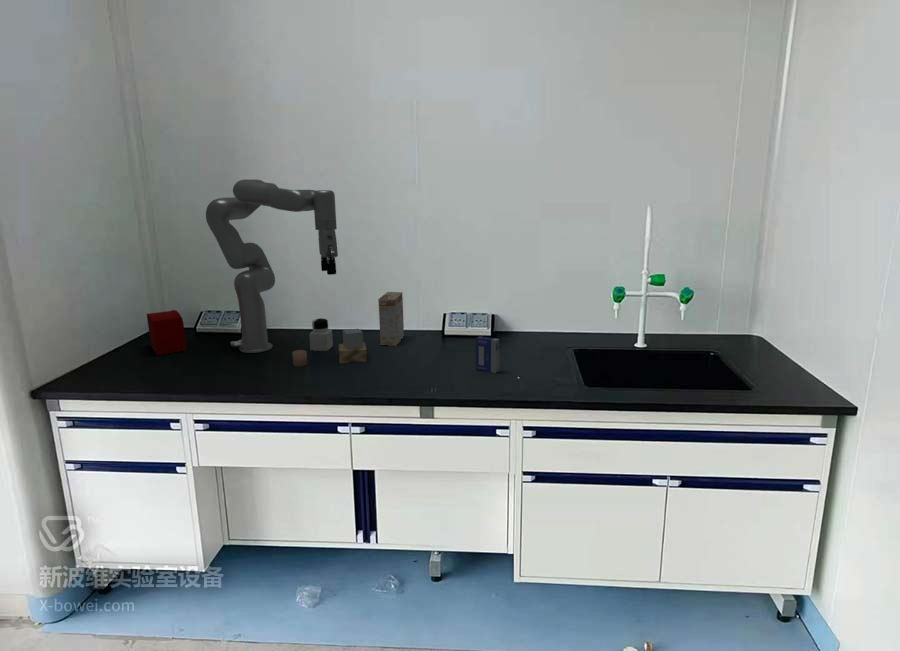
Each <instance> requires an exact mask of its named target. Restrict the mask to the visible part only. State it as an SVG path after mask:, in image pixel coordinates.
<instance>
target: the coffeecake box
mask: <svg viewBox="0 0 900 651" xmlns="http://www.w3.org/2000/svg"><path fill="white" fill-rule="evenodd" d="M377 300H378V319H379V339H380V340H379V341H380V342H379V343H380V345H388V346H387V347H397V346H398V345H399V344H400V342H401V341H402V340H403V338H404V337H405V330H404V327H405V326H404V324H405V323H404V302H403V300H404V298H403V292H402V291H401V292H399V291H387V292H385V293H384V294H383V295H382V296H380V297H379V298H378V299H377ZM403 336H404V337H403ZM401 339H402V340H401ZM397 344H398V345H397Z"/></svg>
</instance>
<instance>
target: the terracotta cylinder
mask: <svg viewBox="0 0 900 651" xmlns="http://www.w3.org/2000/svg"><path fill="white" fill-rule="evenodd" d="M307 353H308V352H307V350H305V349H297V350H294V351H292V352H291V354H292V364H293V365H294V366H299V367H298V368H301V367H300V366H304V367H306V366H305V365H307V366H308V357H307V356H308V354H307ZM294 366H293V367H294Z"/></svg>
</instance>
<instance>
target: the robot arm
mask: <svg viewBox="0 0 900 651" xmlns="http://www.w3.org/2000/svg"><path fill="white" fill-rule="evenodd" d="M232 193H233V197H220V198H216V199H213V200H212V201H210V202H209V203H208V204H207V207H206V209H205V220H206V223H207V225H208V227H209V230H210V231H211V233H212V234H213V236H214V237H215V239H216V242H217V243H218V246H219V247H220V250H221V253H222V254H223V257H224V258H225V260H226V263H227V264H228V266H229V267H230V268H231V269H234V270H241V269H246V268H248V269H247V270H244V271H241V272H239V273H238V274H237V275H236V276H235V278H234V281H233V285H234V286H233V287H234V291H235V293H236V297H237V301H238V308H239V316H240V328H241V329H240V330H241V336H242V337H241V338H240V339H238V340H236V341H235V340H232V341H230V346H231V347H234V348H237V347H238V349H239V352H242V353H246V354H254V353H255V354H256V353H262V352H267V351H270V350H272V348H273V344H272V342H269V339H268V327H267V318H266V317H267V316H266V306H265V301H264V299H263V297H262V295H261V293H263V292H266V291H269V290H271V289H273V287H274V286H275V283H276V276H275V273H274V270H273V269H272V266H271V264H270V263H269V260H268V258H267V255H266V254H265V252H264V250H263V249H262V247H261V246H259V245H258V243H255V242H244V241H243V239H242V238H241V235H240V233H239V231H238V229H237V228H236V227H235V226H234V225H233V224H231V222H230V221H236V220H243V219H246V218H248V217H250V216H251V215H252V214H253V213H254V212H255V211H256V210H257V209H259V208H260V207H261V206H263V207H270V208H272V209H276V210H280V211H281V210H282V211H286V212H291V213H292V212H293V213H296V212H297V213H299V212H310V211H311V212H312V211H313V214H314V227H315V230H316V231H318V250H319V251H318V252H319V255H320V267H321V271H322V272H326V273H327V274H326V275H330V276H331V275H337V263H336V261H337V260H336V258H337V257H338V256H339V254H338V242H337V234H336V230H337V213H336V212H337V211H336V210H337V209H336V195H335V192H334V191H333V190H330V189H324V190H321V189H320V190H318V189H317V190H314V189H287V188H280V187H279V186H278V185H277V184H275V183H272V182H265V181H263V180H261V179H241V180H238V181H236V182H235V183H234V185H233V188H232Z"/></svg>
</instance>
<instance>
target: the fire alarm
mask: <svg viewBox="0 0 900 651" xmlns="http://www.w3.org/2000/svg"><path fill="white" fill-rule="evenodd" d="M146 319H147V326H148V327H147V328H148V332H149V338H150V345H151V346H152V347H151V348H153V349H154V350H153V349H152V350H153V352H154V351H155V352H156V353H155V352H154V353H155V355H156V354H157V355H160V354H166V353H172V354H174V353H173V352H178V353H181V352H180V351H186V352H187V341H186V331H185V326H184V320H183V317H182V316H181V313H180V312H178V311H177V310H175V309H171V310H168V311H159V312H151V313H146ZM157 355H156V356H157ZM166 355H167V354H166ZM160 356H161V355H160Z"/></svg>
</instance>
